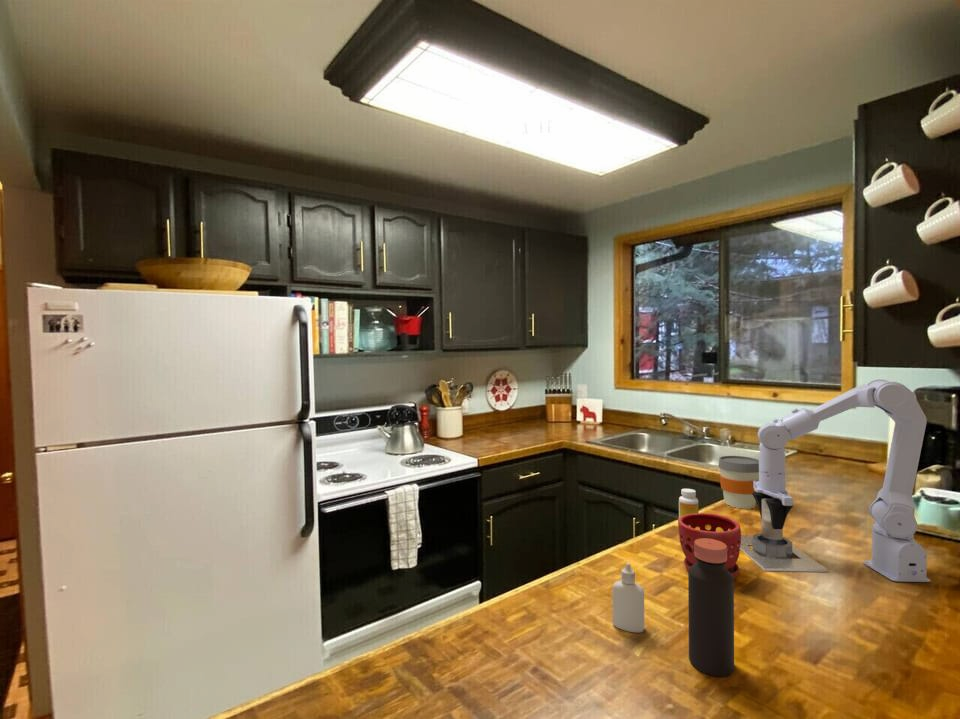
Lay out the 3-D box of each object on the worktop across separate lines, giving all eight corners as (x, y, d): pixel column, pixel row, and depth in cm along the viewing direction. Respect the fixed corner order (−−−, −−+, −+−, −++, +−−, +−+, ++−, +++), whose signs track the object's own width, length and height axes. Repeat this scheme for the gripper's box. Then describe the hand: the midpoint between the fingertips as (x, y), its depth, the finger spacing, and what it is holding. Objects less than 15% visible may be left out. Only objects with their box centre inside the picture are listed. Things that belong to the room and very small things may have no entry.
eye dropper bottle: (624, 616, 92) (623, 555, 92) (648, 630, 88) (648, 566, 87) (608, 623, 90) (608, 561, 90) (633, 638, 85) (632, 572, 85)
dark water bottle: (720, 650, 82) (719, 535, 81) (743, 677, 75) (742, 552, 74) (681, 651, 81) (680, 536, 81) (701, 678, 75) (700, 553, 74)
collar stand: (827, 571, 109) (827, 557, 109) (764, 570, 110) (764, 556, 110) (778, 537, 129) (778, 525, 129) (725, 537, 130) (725, 525, 130)
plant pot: (707, 556, 119) (707, 508, 118) (754, 579, 106) (754, 526, 106) (666, 565, 114) (666, 515, 114) (710, 590, 102) (710, 535, 101)
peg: (786, 540, 117) (786, 504, 117) (767, 539, 118) (767, 503, 117) (776, 533, 122) (776, 498, 122) (758, 532, 122) (758, 498, 122)
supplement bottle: (700, 526, 138) (700, 493, 138) (681, 525, 139) (680, 492, 139) (696, 519, 144) (695, 488, 144) (677, 518, 145) (677, 487, 145)
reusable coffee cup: (770, 507, 153) (770, 461, 153) (742, 513, 149) (742, 465, 149) (736, 496, 165) (736, 454, 165) (710, 501, 161) (709, 457, 160)
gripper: (741, 464, 127) (741, 514, 127) (771, 479, 112) (771, 535, 113) (768, 464, 126) (769, 515, 127) (802, 479, 112) (802, 536, 112)
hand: (772, 524), depth 120 cm, fingers closed on peg, 4 cm apart
